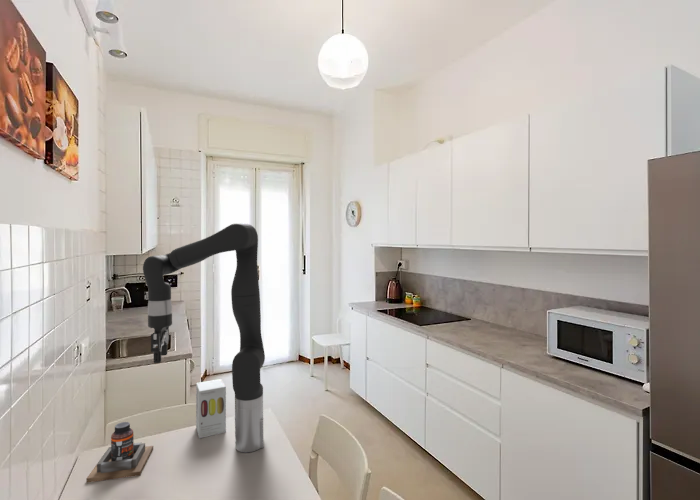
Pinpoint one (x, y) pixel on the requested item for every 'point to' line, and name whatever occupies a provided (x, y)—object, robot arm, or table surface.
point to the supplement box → (210, 408)
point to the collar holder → (121, 465)
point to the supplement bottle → (122, 442)
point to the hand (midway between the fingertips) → (160, 358)
